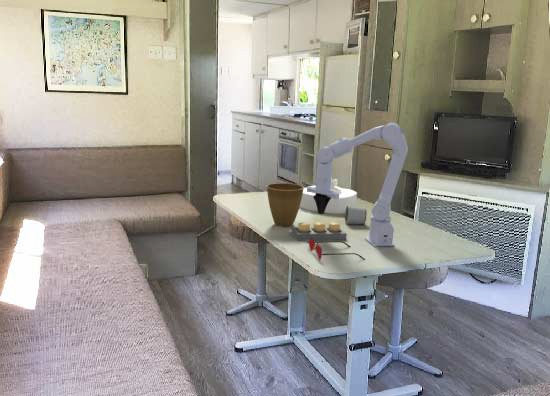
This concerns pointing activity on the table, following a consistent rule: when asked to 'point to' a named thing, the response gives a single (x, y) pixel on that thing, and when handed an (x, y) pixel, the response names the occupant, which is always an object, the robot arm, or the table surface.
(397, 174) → the robot arm
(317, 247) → the glasses
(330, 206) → the white decorated cake
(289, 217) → the plant pot
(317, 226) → the tan rounded lump
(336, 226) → the tan rounded lump
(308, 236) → the board
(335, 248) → the table surface
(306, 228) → the pale orange rounded lump
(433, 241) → the table surface
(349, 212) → the ceramic mug
